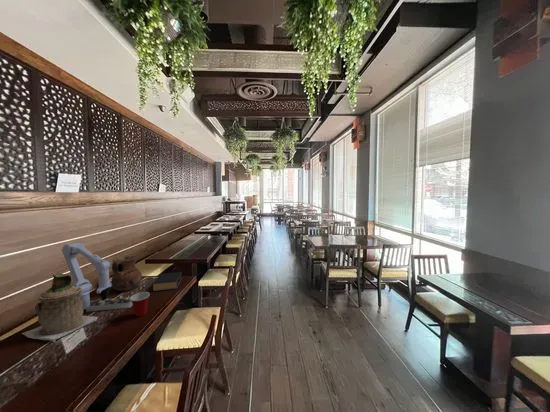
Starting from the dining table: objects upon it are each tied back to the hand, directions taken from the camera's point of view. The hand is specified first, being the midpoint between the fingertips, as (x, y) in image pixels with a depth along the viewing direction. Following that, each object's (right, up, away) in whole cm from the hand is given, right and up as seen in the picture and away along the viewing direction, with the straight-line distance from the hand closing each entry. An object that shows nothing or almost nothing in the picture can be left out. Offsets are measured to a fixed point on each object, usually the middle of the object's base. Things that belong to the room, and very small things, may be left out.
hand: (104, 299), depth 159 cm
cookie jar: (-8, -7, -23) cm, 25 cm away
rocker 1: (-5, -2, -1) cm, 6 cm away
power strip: (+3, -6, +2) cm, 7 cm away
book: (+24, -4, +41) cm, 48 cm away
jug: (-7, -5, +36) cm, 37 cm away
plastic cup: (+29, -6, -9) cm, 31 cm away
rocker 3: (+11, -1, +2) cm, 12 cm away
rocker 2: (+3, -1, +1) cm, 3 cm away
